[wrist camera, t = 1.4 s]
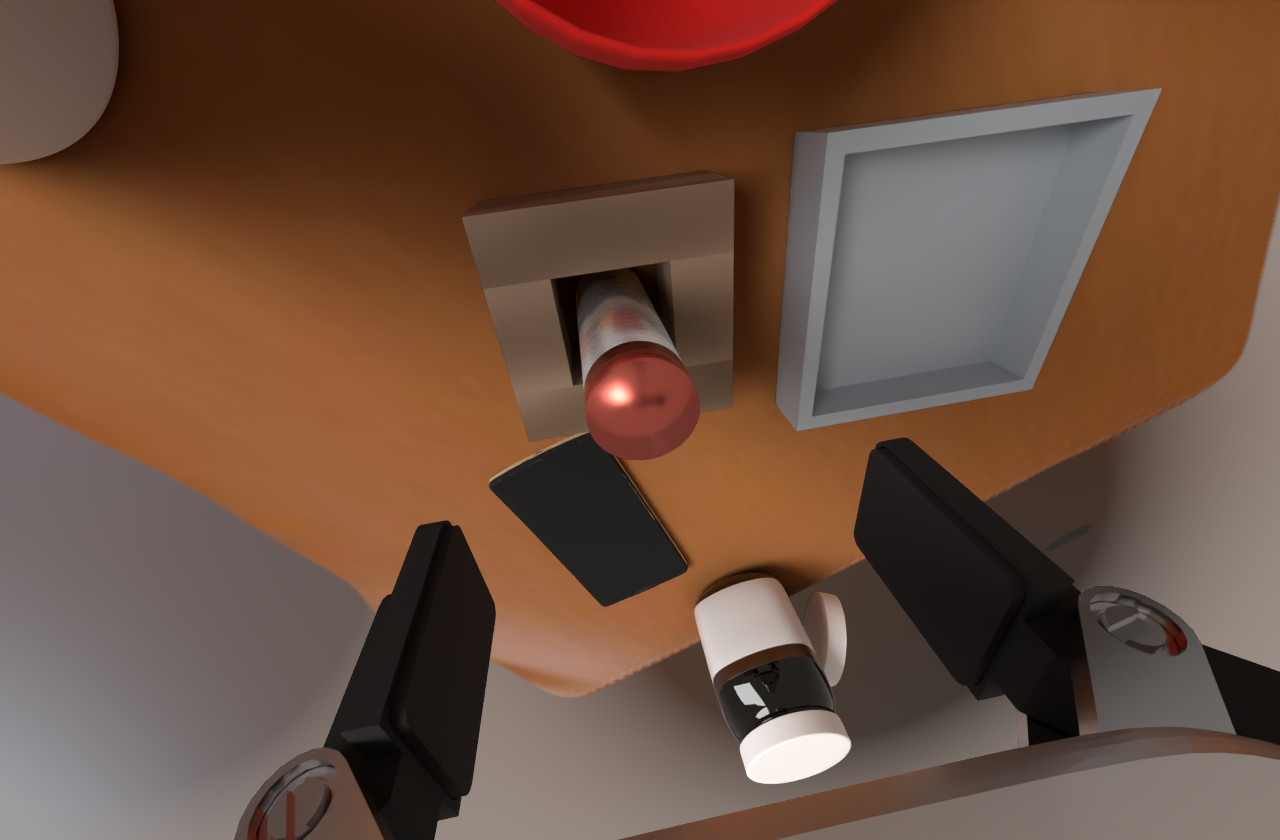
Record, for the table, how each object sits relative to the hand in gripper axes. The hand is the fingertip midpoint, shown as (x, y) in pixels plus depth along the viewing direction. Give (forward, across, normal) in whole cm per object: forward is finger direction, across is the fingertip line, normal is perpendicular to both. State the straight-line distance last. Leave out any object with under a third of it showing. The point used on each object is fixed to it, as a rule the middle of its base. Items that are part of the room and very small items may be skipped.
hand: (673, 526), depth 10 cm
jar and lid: (+16, -9, +26) cm, 32 cm away
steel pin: (+15, 0, -1) cm, 15 cm away
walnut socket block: (+15, 0, -1) cm, 15 cm away
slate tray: (+15, -16, 0) cm, 22 cm away
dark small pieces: (+16, +3, +14) cm, 22 cm away
